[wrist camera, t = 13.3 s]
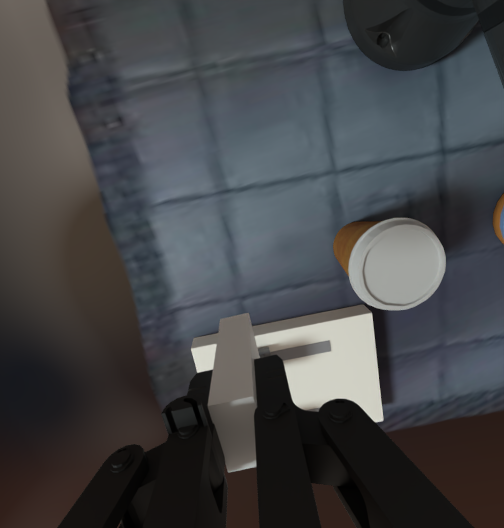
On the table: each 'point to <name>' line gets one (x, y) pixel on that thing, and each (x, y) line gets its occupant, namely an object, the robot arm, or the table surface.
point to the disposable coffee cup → (391, 261)
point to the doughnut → (499, 219)
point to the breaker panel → (318, 357)
